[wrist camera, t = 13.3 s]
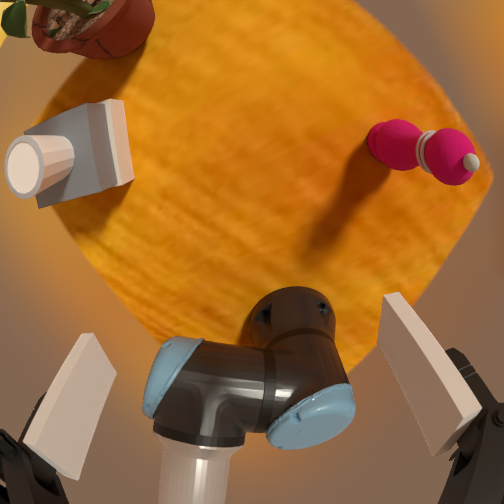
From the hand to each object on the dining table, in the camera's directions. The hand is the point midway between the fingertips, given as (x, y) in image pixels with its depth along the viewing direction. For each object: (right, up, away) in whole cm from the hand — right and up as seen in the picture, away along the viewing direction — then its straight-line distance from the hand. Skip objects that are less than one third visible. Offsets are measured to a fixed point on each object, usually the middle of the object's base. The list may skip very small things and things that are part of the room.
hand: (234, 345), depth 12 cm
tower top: (-23, +17, +20) cm, 35 cm away
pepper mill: (+21, +20, +25) cm, 38 cm away
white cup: (-23, +15, +16) cm, 32 cm away
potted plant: (-16, +38, +16) cm, 44 cm away
